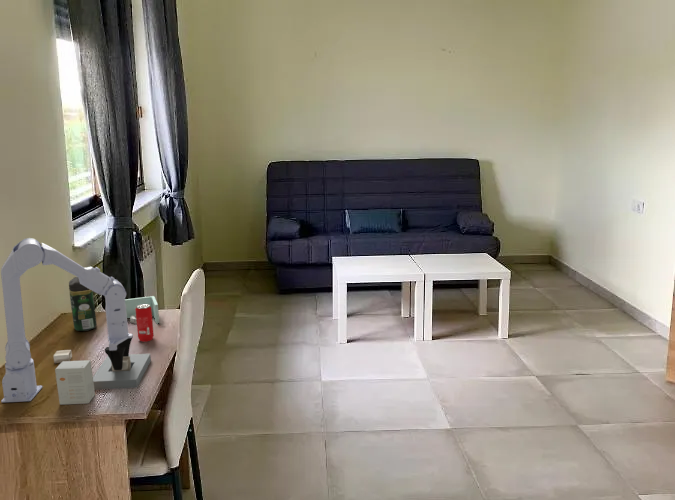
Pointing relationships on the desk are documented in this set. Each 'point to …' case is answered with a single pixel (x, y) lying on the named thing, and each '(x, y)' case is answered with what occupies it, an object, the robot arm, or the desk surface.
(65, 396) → the small box
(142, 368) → the hole board
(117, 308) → the robot arm
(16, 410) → the desk surface
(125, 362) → the cream square block
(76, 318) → the coffee jar
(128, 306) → the l-shaped corner panel
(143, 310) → the beverage can
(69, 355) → the short peg
